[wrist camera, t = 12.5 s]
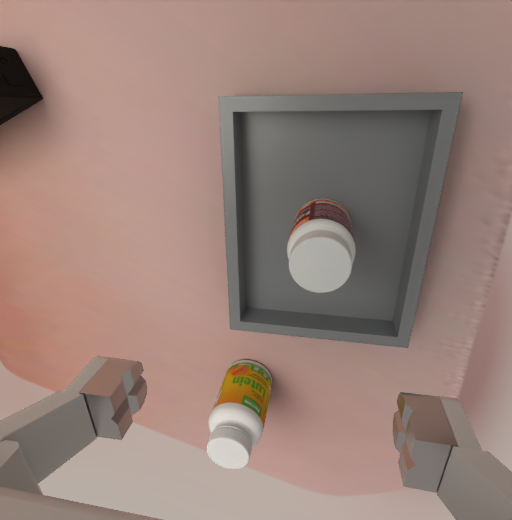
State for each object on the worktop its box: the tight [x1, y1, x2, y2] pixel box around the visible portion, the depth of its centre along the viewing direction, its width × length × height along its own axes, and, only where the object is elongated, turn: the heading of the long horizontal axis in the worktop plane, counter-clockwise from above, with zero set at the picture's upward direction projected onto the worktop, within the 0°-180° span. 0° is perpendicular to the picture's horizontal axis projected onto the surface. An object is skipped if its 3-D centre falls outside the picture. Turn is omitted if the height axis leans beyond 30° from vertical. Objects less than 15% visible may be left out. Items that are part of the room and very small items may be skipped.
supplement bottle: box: [207, 360, 272, 469], centre depth 35 cm, size 5×5×10 cm
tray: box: [219, 92, 463, 348], centre depth 28 cm, size 20×16×4 cm
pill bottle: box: [287, 199, 356, 293], centre depth 25 cm, size 5×5×8 cm
